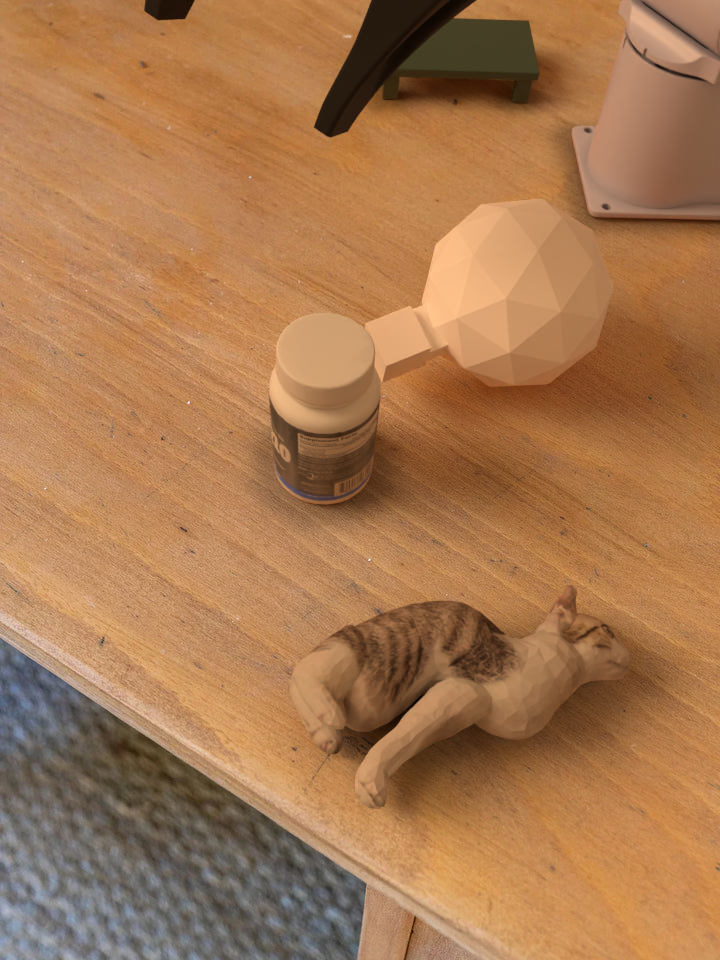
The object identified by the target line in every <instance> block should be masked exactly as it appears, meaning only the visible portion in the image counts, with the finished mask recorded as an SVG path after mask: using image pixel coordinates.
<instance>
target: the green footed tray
mask: <svg viewBox="0 0 720 960" xmlns="http://www.w3.org/2000/svg"><path fill="white" fill-rule="evenodd" d="M535 49H536V48H535V44H534V38H533V34H532V28H531V24H530V20H524V19H522V20H521V19H491V18H487V19H486V18H466V17H465V18H462V17H461V18H460V17H454V18H453V19H452V20H450V21H449V22H448V23H447V24H445V25H444V26H443V27H442V28H441V29H439V30H438V31H437V32H436V33H435V34H434V35H432V36H431V37H430V38H429V39H428V40H427V41H426V42H425V43H423V44H422V45H421V46H420V47H419V48H418V49H417V50H416V51H415V52H414V53H413V54H412V55H411V56H410V57H409V58H408V59H407V60H406V61H405V62H404V63H403V64H402V65H401V66H400V67H399V68H398V69H397V70H396V71H395V72H394V73H393V74H392V75H391V76H390V77H389V79H388V80H387V81H386V82H385V83H384V84H383V85H382V86H381V98H382V99H383V100H398V98H399V90H400V89H399V88H400V78H413V79H414V78H415V79H450V80H451V79H452V80H483V81H485V80H486V81H513V82H512V87H511V92H510V96H511V101H512V102H511V103H514V104H528V102H529V99H530V93H531V90H532V86H533V82H538V81H539V78H540V69H539V63H538V58H537V54H536V53H537V52H536V50H535Z"/></svg>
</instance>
